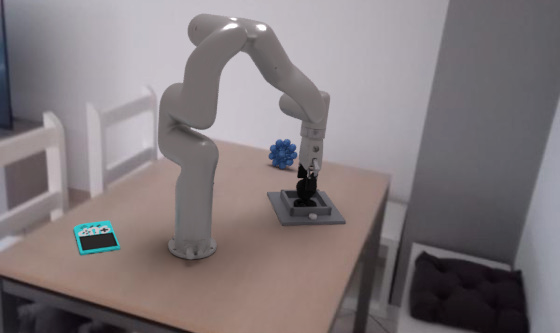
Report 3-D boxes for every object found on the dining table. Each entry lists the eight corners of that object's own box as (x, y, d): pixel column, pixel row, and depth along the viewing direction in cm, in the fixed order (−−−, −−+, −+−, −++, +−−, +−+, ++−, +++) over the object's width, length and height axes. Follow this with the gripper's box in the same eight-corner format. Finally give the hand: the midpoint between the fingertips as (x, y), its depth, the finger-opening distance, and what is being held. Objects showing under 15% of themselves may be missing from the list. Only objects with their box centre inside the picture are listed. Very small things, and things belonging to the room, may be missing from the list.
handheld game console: (110, 223, 152) (110, 219, 152) (121, 251, 139) (121, 246, 139) (72, 228, 148) (72, 224, 147) (80, 257, 135) (80, 252, 134)
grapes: (300, 168, 204) (303, 138, 200) (292, 174, 198) (296, 143, 194) (272, 161, 209) (275, 132, 204) (264, 166, 203) (267, 136, 199)
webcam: (305, 199, 176) (308, 170, 173) (321, 207, 171) (325, 178, 167) (288, 204, 171) (290, 175, 168) (304, 213, 166) (307, 183, 162)
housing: (345, 223, 164) (346, 213, 163) (281, 225, 159) (282, 214, 158) (324, 193, 184) (325, 184, 183) (266, 194, 179) (267, 184, 178)
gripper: (333, 141, 155) (325, 195, 161) (316, 124, 171) (309, 174, 177) (308, 140, 154) (301, 195, 159) (293, 123, 169) (287, 173, 175)
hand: (306, 184), depth 168 cm, fingers open, 9 cm apart
